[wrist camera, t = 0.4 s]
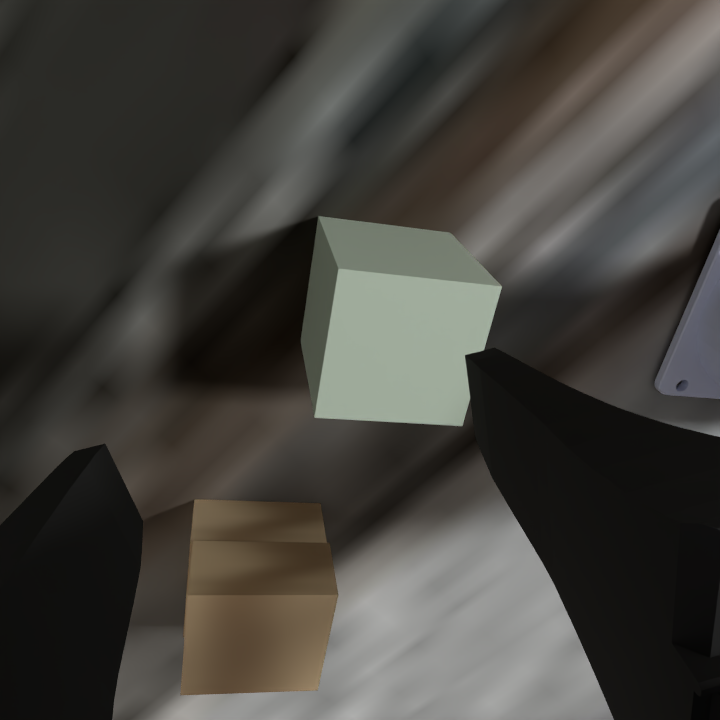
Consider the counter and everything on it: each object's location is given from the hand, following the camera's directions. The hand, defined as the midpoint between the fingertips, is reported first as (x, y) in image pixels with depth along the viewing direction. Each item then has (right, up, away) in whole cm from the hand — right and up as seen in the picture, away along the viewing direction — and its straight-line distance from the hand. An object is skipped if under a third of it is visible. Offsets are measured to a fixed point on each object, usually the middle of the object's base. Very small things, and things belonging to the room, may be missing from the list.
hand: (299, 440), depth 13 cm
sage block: (+2, +4, +10) cm, 10 cm away
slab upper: (-3, -7, +12) cm, 14 cm away
